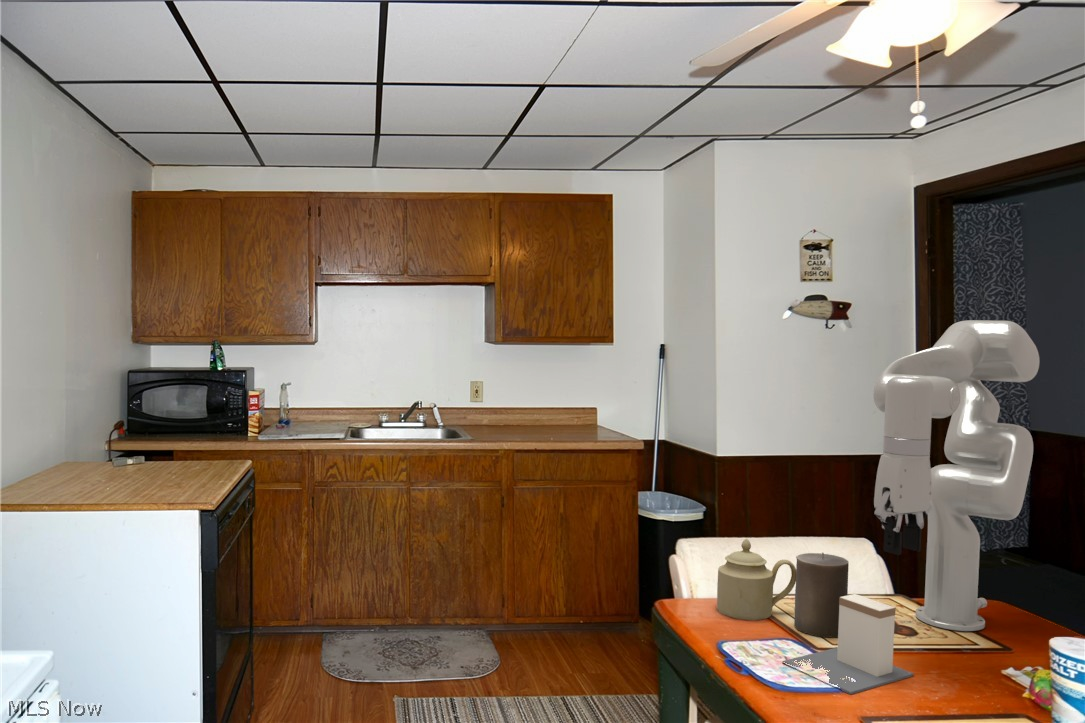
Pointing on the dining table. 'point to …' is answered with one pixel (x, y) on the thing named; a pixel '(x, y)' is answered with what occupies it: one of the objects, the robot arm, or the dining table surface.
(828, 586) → the pillar candle
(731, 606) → the sugar bowl
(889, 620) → the slab
